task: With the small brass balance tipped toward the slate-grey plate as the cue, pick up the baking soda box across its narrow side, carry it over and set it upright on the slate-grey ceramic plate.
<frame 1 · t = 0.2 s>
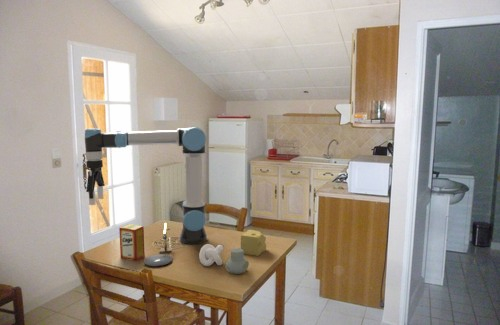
hand: (96, 201, 185), 27 cm above the table, fingers open, 13 cm apart
plate: (158, 262, 178), on the table
cheese: (253, 252, 192), on the table
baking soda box: (132, 257, 184), on the table
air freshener: (237, 271, 167), on the table
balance: (165, 251, 192), on the table
white knot sculpture: (213, 265, 175), on the table
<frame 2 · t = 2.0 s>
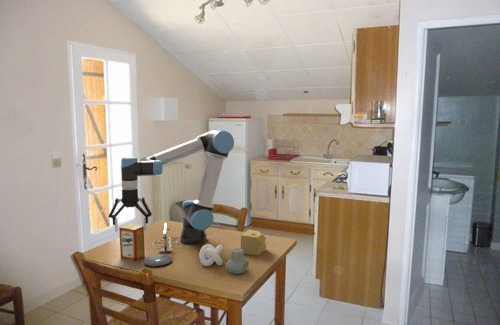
hand: (130, 230, 182), 14 cm above the table, fingers open, 13 cm apart
nothing on the table moved.
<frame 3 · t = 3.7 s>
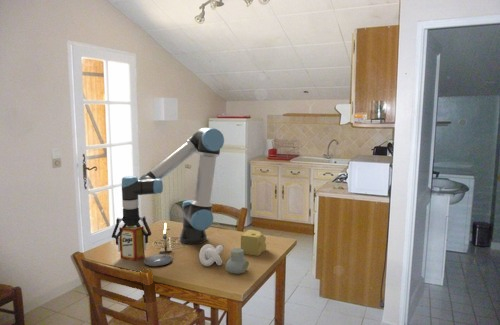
hand: (132, 250, 184), 4 cm above the table, fingers closed on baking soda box, 11 cm apart
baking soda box: (132, 257, 184), on the table, touching gripper
everything else where it was.
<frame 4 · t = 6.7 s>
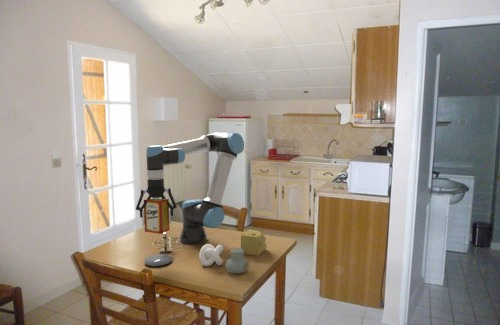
hand: (157, 223, 175), 19 cm above the table, fingers closed on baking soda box, 11 cm apart
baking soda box: (157, 231, 176), point 15 cm above the table, touching gripper
everything else where it was.
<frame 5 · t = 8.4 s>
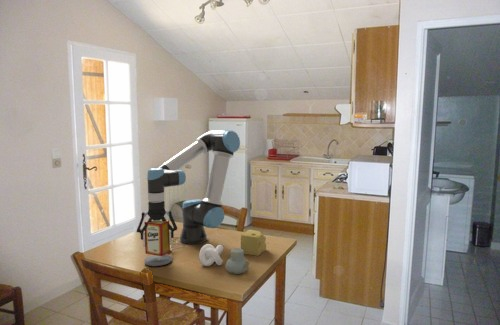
hand: (157, 245, 177), 8 cm above the table, fingers closed on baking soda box, 11 cm apart
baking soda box: (157, 253, 177), point 5 cm above the table, touching gripper
everything else where it was.
when the fingers open (7 cm above the table, at t = 9.9 s): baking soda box drops 1 cm, resting on plate.
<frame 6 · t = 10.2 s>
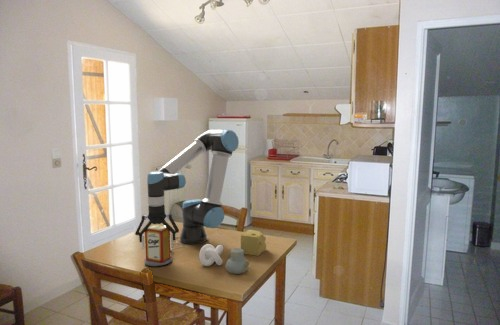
hand: (157, 247, 177), 7 cm above the table, fingers open, 13 cm apart
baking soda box: (158, 259, 178), point 1 cm above the table, touching plate
everything else where it was.
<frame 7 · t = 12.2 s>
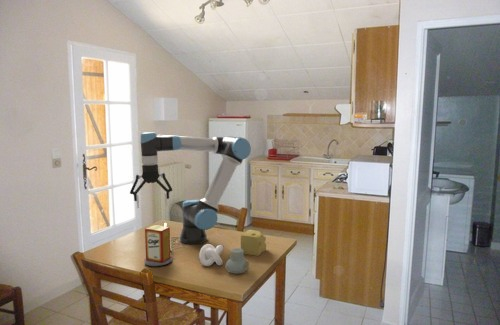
hand: (152, 206, 182), 26 cm above the table, fingers open, 13 cm apart
nothing on the table moved.
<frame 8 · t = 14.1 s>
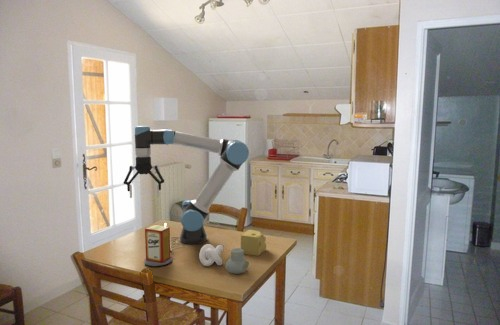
hand: (144, 196, 191), 29 cm above the table, fingers open, 13 cm apart
nothing on the table moved.
at the end: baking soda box inside the target area on the plate (0.1 cm from its centre), point 1.2 cm above the plate's base; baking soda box tilted 0°; the gripper is holding nothing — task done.
